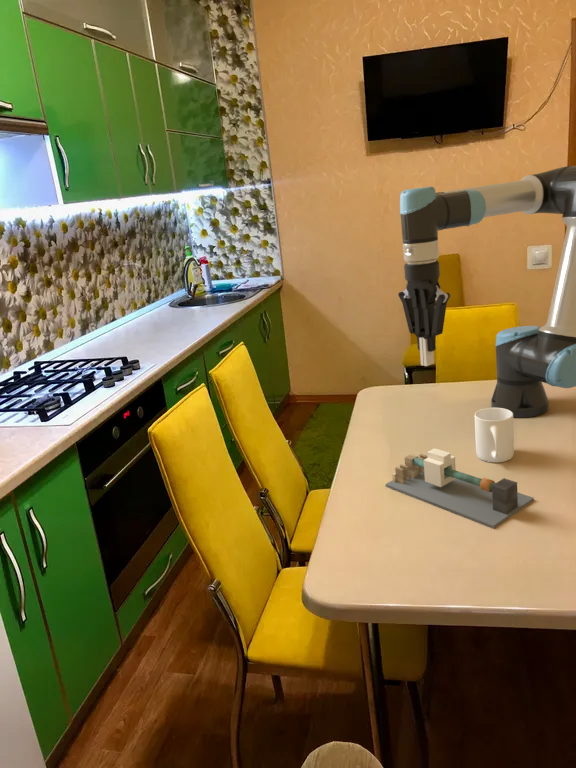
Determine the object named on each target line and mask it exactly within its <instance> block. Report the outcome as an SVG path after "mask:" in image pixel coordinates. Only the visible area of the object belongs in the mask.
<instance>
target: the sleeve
mask: <svg viewBox="0 0 576 768" xmlns="http://www.w3.org/2000/svg"><path fill="white" fill-rule="evenodd" d="M426 452H427V453H426V456H428V458H426V459H424V460H423V461H424V475H425V482H428V483H431V484H433V485H436V486H439V487H442V486H444V485H446V484H447V483H449V482H451V481H452V480H454V479H456V478H453V477H450V476H447V475H444V468H449V469H453V470H456V467H457V465H456V456H454V455H452V453H451V452H448V451H445V450H442V449H438V448H435V447H433V448H432V449H431V450H428V451H426ZM456 471H457V470H456Z"/></svg>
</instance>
